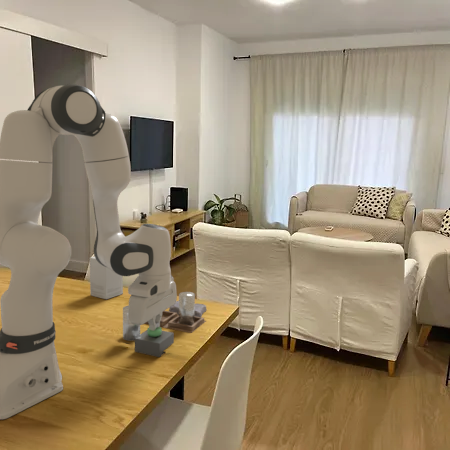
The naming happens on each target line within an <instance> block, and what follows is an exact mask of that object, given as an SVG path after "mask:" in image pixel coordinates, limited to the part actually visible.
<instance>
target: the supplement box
mask: <svg viewBox="0 0 450 450" xmlns="http://www.w3.org/2000/svg"><path fill="white" fill-rule="evenodd" d="M123 277H124V276H121V275H118V274H116V273H115V272H113V271H111V270H110V269H109V268H107V267H105V266H102V265H101V264H100V263H98V261H97V260H96V258H95V256H91V257H89V283H90V284H89V285H90V286H89V287H90V288H89V289H90V292H89V293H90V296H92V297H96V298H100V299H103V300H108V299H111V298H114V297H117V296H120V295H123V294H124V289H123V288H124V285H123V282H124V281H123V280H124V278H123Z"/></svg>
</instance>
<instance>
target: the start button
mask: <svg viewBox="0 0 450 450" xmlns="http://www.w3.org/2000/svg"><path fill="white" fill-rule="evenodd" d="M162 328H163V327H159V328H157V329H156V330H154V331H152V330H150V329H149V327H147V329H146V330H147V335H148V336H151V337H155V338H156V337H157V336H160V335H161V334H162V331H163V329H162Z"/></svg>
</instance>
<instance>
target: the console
mask: <svg viewBox="0 0 450 450" xmlns="http://www.w3.org/2000/svg"><path fill="white" fill-rule="evenodd" d="M174 335H175V334H174V332H173V331H168V330H166V331H165V330H162V334H161V335H160V336H157V337H156V338H155V337H151V336H148V335H147V329H146V330H145V331H143V332H142V333H140V335H139V336H137V337H136V338H135V340H134V352H135V353H140V354H143V355H149V356H152V357H156V358H160V357H162V356H163V355H164V354H165V353H166V351H165V350H166V349H168V348H169V347H170V346H171V345H173V344H174V340H175V339H174V338H175V336H174Z"/></svg>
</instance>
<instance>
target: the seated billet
mask: <svg viewBox="0 0 450 450" xmlns="http://www.w3.org/2000/svg"><path fill="white" fill-rule="evenodd" d="M195 295H196V294H195V293H194V292H192V291H182V292H180V293H179V294H178V301H179V323H180V324H185V325H190V326H192V325H193V324H194V311H195V304H196V303H195V302H196V301H195V300H196V298H195V297H196V296H195Z"/></svg>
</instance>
